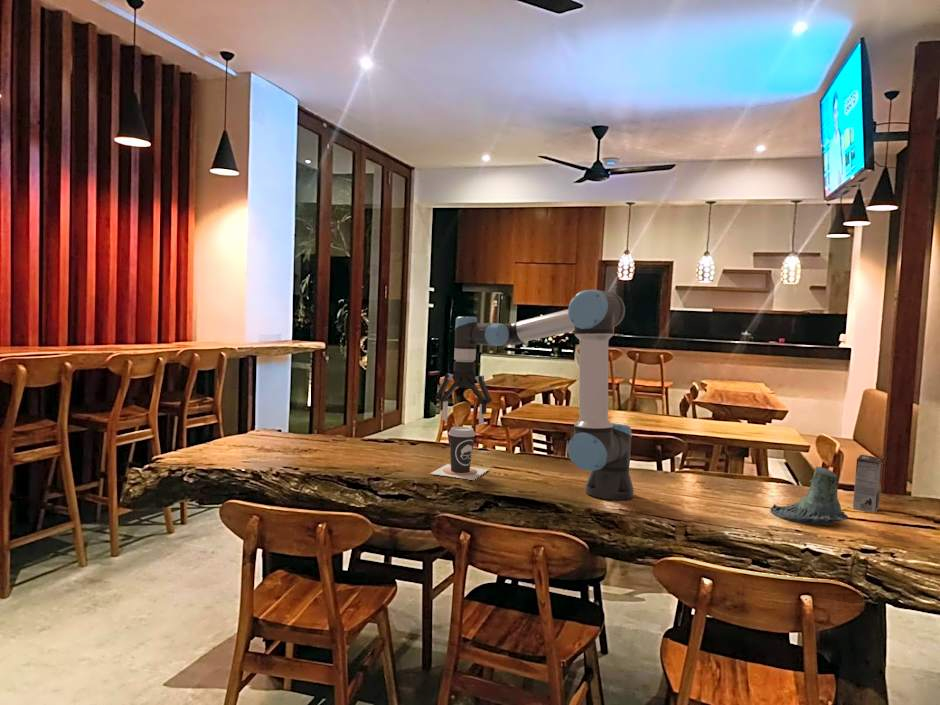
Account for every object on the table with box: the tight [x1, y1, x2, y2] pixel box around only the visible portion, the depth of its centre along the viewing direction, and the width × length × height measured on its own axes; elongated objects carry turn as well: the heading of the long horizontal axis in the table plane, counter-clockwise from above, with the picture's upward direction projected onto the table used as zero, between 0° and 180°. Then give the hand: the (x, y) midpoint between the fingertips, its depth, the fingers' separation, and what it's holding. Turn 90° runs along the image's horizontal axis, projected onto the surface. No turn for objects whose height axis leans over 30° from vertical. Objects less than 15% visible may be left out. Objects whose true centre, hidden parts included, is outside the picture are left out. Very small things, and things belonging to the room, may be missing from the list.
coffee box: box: [852, 454, 884, 514], centre depth 201 cm, size 9×6×16 cm
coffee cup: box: [447, 426, 476, 473], centre depth 223 cm, size 10×10×15 cm
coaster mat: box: [429, 463, 490, 482], centre depth 223 cm, size 16×16×1 cm
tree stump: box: [769, 466, 848, 527], centre depth 188 cm, size 18×20×18 cm
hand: (462, 421), depth 222 cm, fingers open, 13 cm apart
